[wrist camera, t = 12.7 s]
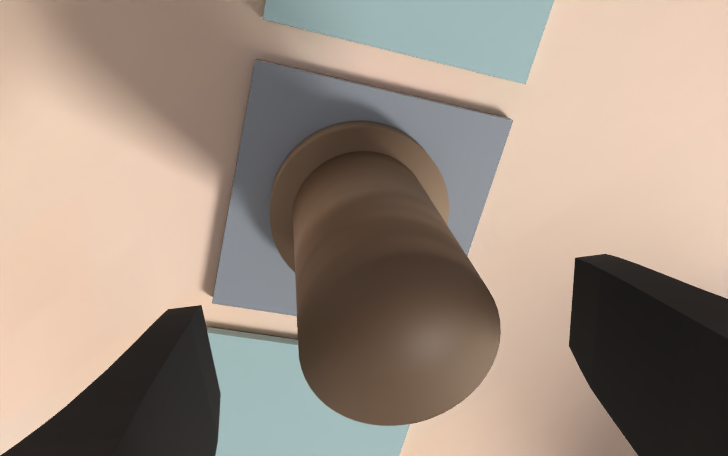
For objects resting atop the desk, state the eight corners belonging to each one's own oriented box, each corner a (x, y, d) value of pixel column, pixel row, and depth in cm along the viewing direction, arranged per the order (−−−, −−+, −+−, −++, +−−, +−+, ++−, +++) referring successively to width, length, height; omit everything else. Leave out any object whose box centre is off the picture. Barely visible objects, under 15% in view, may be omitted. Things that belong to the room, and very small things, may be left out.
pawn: (440, 112, 16) (540, 203, 10) (442, 272, 18) (526, 432, 12) (259, 128, 16) (244, 235, 9) (281, 290, 18) (280, 466, 11)
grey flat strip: (796, -734, 11) (810, -752, 11) (326, 659, 25) (326, 667, 25) (434, -956, 10) (439, -983, 9) (150, 654, 23) (148, 662, 23)
